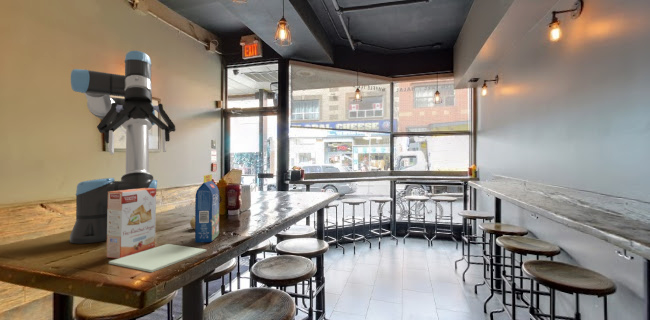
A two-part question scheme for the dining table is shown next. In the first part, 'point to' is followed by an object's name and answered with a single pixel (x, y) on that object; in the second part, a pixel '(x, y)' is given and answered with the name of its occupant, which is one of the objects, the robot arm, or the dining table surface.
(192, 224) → the onion
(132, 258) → the mat
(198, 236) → the blue food package
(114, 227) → the cracker box
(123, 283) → the dining table surface
